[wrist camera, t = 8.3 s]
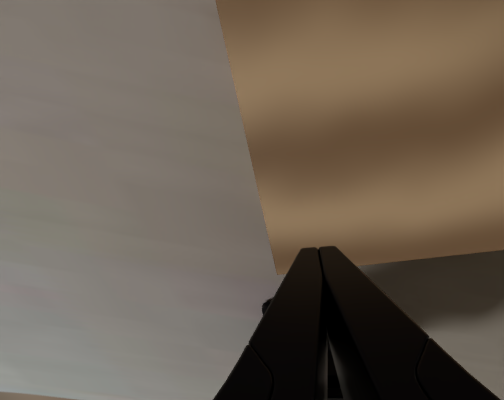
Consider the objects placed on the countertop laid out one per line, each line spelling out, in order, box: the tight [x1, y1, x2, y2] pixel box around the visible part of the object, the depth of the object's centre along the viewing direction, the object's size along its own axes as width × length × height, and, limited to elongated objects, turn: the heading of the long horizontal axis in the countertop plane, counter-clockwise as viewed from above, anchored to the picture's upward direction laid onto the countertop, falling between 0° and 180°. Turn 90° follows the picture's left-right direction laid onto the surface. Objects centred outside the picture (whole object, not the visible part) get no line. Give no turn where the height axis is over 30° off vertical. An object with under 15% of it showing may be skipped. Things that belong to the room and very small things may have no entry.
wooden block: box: [216, 0, 504, 275], centre depth 16 cm, size 14×16×4 cm
